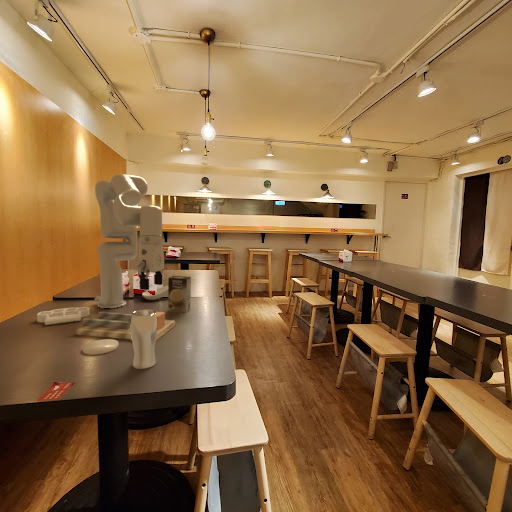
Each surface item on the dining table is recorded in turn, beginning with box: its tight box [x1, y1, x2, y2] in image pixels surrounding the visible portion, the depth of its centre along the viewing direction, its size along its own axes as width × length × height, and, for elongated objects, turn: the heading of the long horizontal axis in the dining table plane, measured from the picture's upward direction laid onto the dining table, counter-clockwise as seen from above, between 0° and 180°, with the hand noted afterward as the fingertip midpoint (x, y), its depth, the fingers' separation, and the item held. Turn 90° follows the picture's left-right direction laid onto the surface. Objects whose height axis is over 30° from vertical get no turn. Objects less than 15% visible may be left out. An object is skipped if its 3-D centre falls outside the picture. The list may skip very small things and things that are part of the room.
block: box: [156, 311, 166, 330], centre depth 101 cm, size 6×5×5 cm
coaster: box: [82, 338, 120, 356], centre depth 87 cm, size 10×10×1 cm
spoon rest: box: [141, 285, 168, 301], centre depth 152 cm, size 24×12×7 cm, turn 125°
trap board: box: [75, 311, 176, 341], centre depth 102 cm, size 30×16×4 cm, turn 82°
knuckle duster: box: [36, 306, 91, 326], centre depth 113 cm, size 3×18×15 cm
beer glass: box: [130, 309, 157, 370], centre depth 76 cm, size 7×7×15 cm
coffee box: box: [167, 275, 192, 313], centre depth 128 cm, size 9×6×16 cm
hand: (151, 286), depth 100 cm, fingers open, 9 cm apart
